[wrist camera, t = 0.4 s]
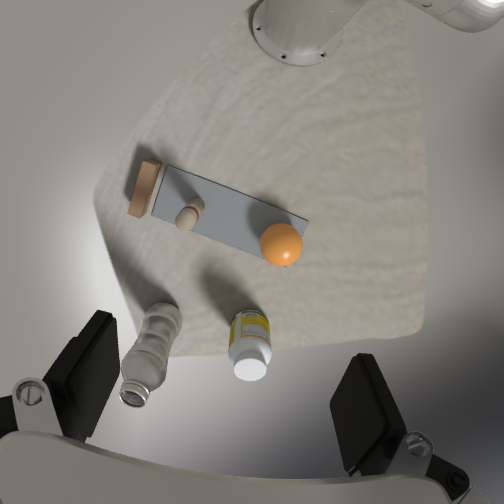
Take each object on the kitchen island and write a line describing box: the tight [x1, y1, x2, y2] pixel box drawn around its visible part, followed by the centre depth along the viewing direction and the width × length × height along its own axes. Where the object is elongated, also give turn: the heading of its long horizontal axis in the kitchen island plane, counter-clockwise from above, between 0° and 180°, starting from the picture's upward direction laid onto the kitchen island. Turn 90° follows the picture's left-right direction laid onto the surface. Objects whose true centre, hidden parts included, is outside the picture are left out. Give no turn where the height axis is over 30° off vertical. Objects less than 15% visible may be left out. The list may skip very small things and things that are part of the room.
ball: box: [259, 223, 302, 266], centre depth 43 cm, size 6×6×6 cm
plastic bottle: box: [119, 302, 182, 408], centre depth 41 cm, size 6×7×20 cm
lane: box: [152, 165, 309, 267], centre depth 44 cm, size 8×22×1 cm, turn 67°
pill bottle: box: [228, 310, 272, 381], centre depth 46 cm, size 6×6×12 cm
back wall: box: [127, 159, 162, 218], centre depth 41 cm, size 8×2×3 cm, turn 157°
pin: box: [175, 197, 205, 231], centre depth 40 cm, size 2×2×8 cm
